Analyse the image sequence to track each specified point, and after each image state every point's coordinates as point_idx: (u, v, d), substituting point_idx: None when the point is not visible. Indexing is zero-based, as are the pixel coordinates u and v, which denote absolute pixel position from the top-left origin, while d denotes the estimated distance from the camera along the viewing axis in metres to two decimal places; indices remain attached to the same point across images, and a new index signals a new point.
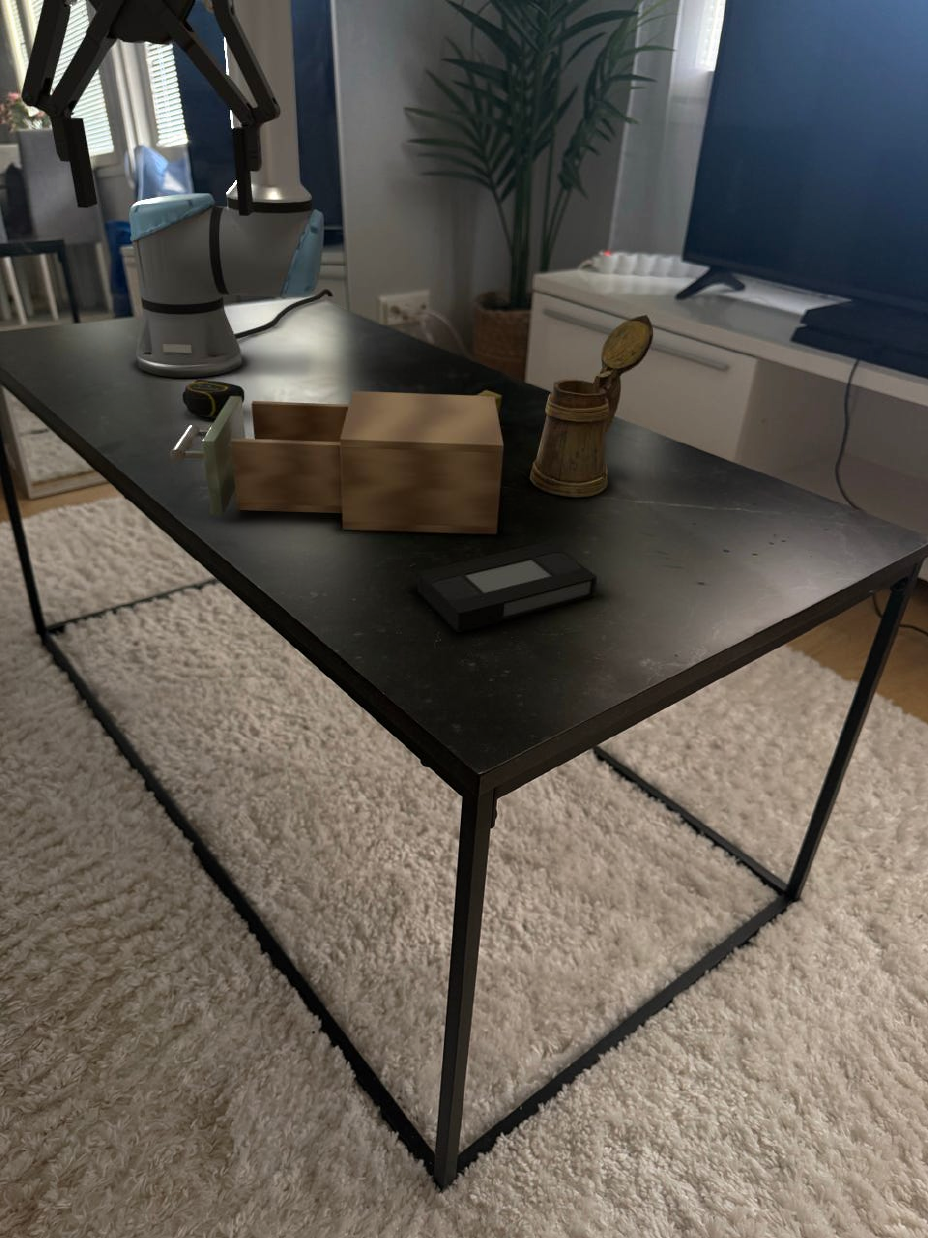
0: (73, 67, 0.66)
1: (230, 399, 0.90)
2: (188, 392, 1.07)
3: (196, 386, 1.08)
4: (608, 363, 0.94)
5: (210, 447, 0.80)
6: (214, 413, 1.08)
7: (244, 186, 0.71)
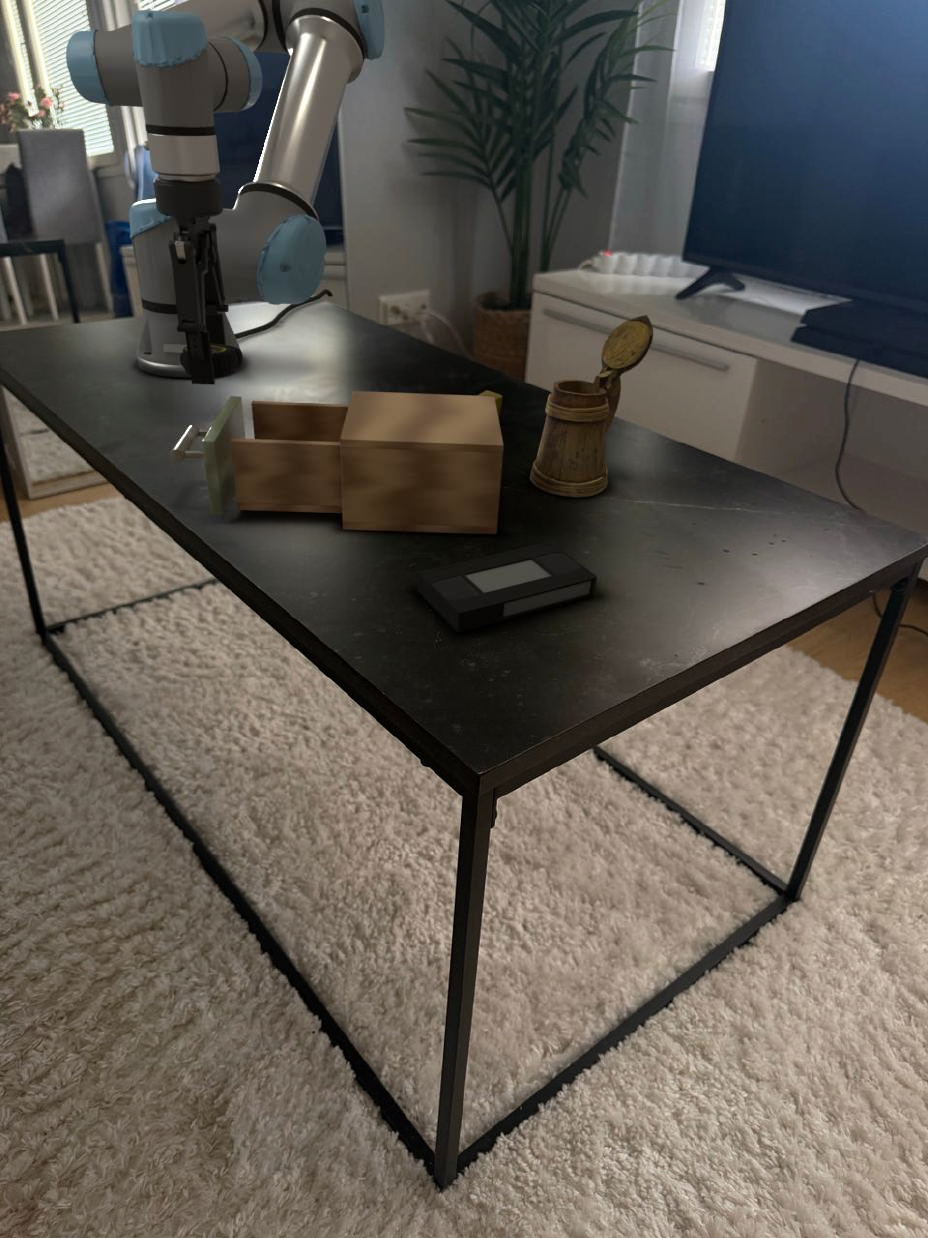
0: None
1: (230, 399, 0.90)
2: (186, 353, 1.05)
3: None
4: (608, 363, 0.94)
5: (210, 447, 0.80)
6: None
7: None
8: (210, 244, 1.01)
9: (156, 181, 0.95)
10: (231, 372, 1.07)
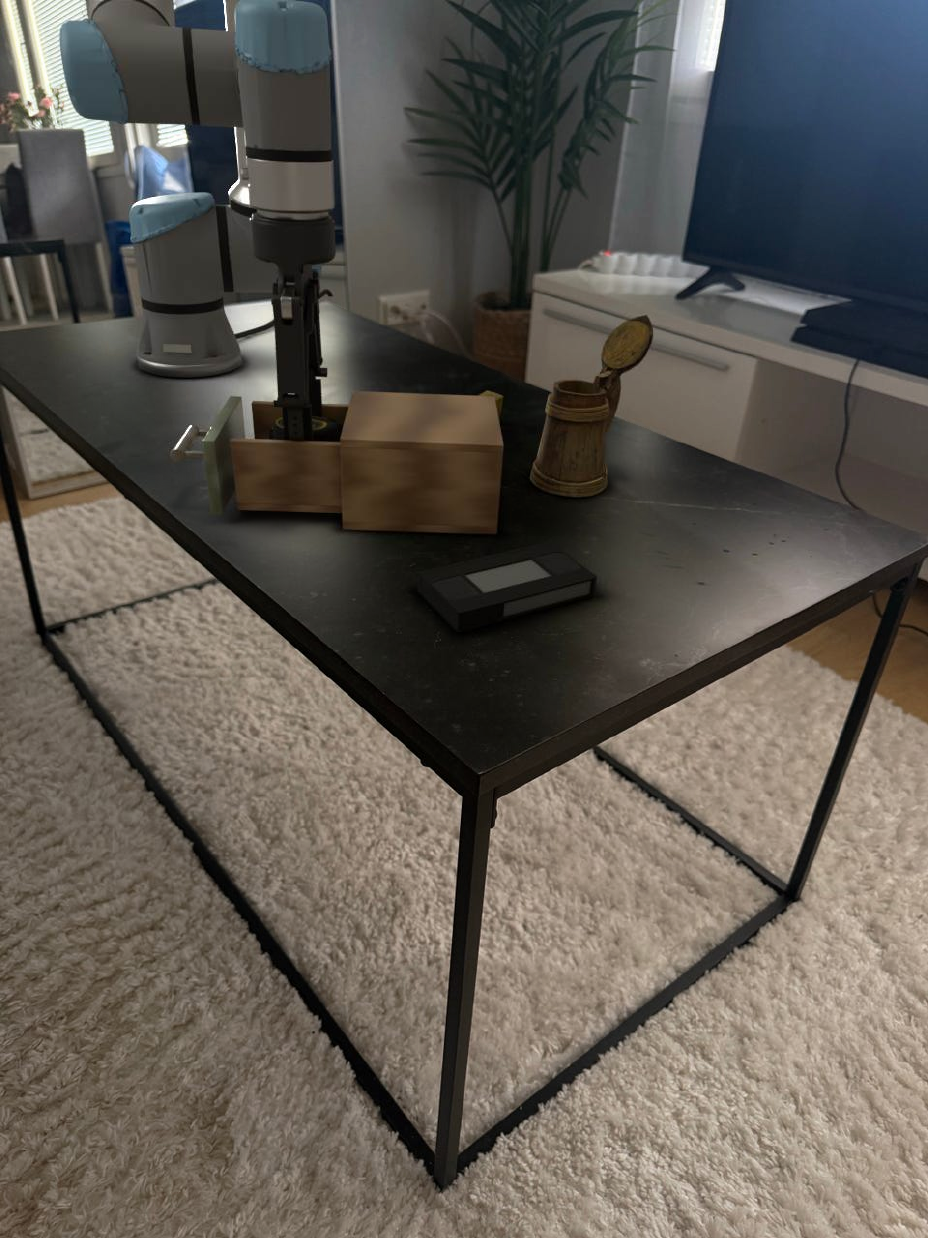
0: None
1: (230, 399, 0.90)
2: (278, 430, 0.84)
3: None
4: (608, 363, 0.94)
5: (210, 447, 0.80)
6: None
7: None
8: None
9: (256, 219, 0.74)
10: None
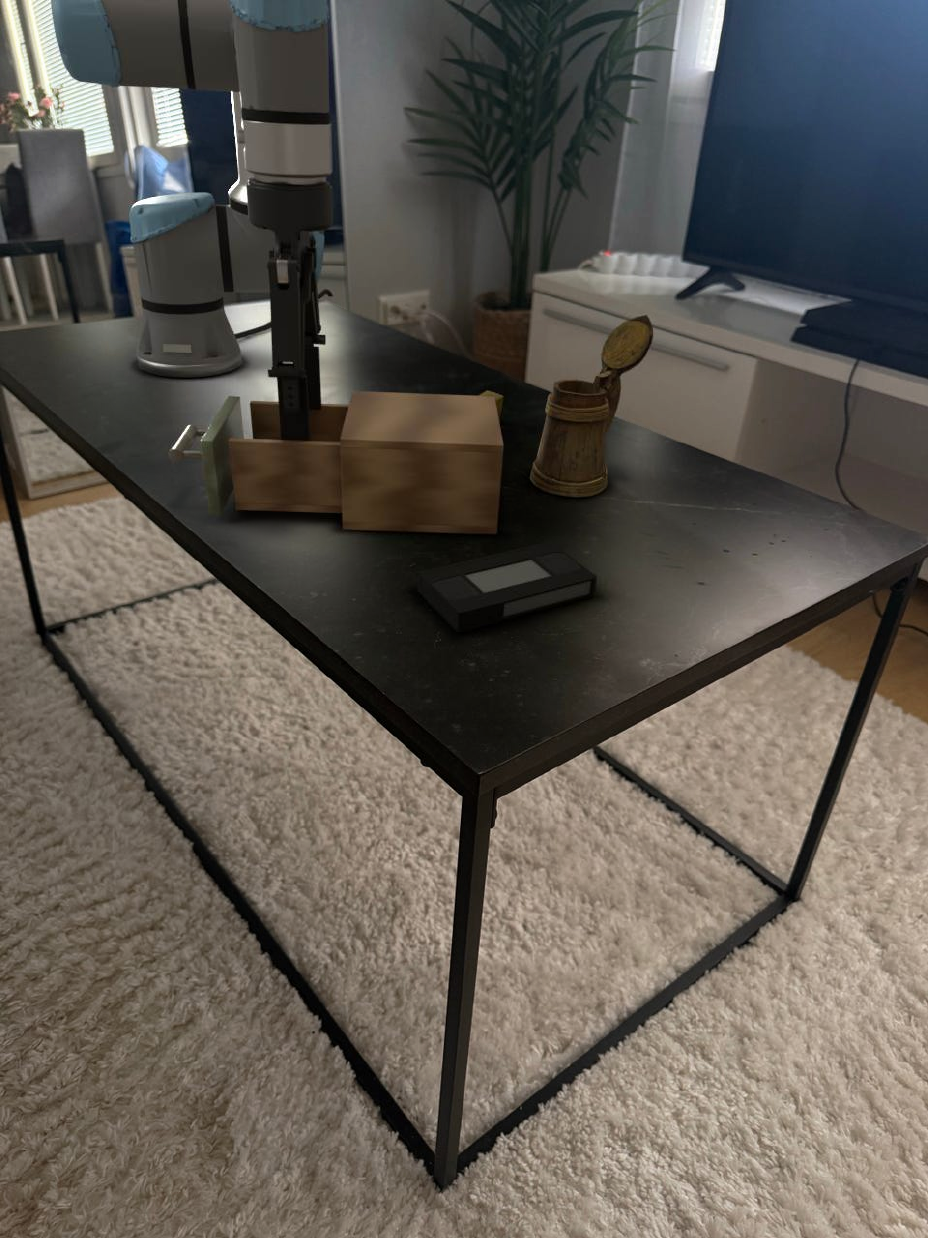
0: None
1: (228, 399, 0.90)
2: None
3: None
4: (608, 363, 0.94)
5: (208, 447, 0.80)
6: None
7: (280, 419, 0.80)
8: None
9: (252, 184, 0.72)
10: None
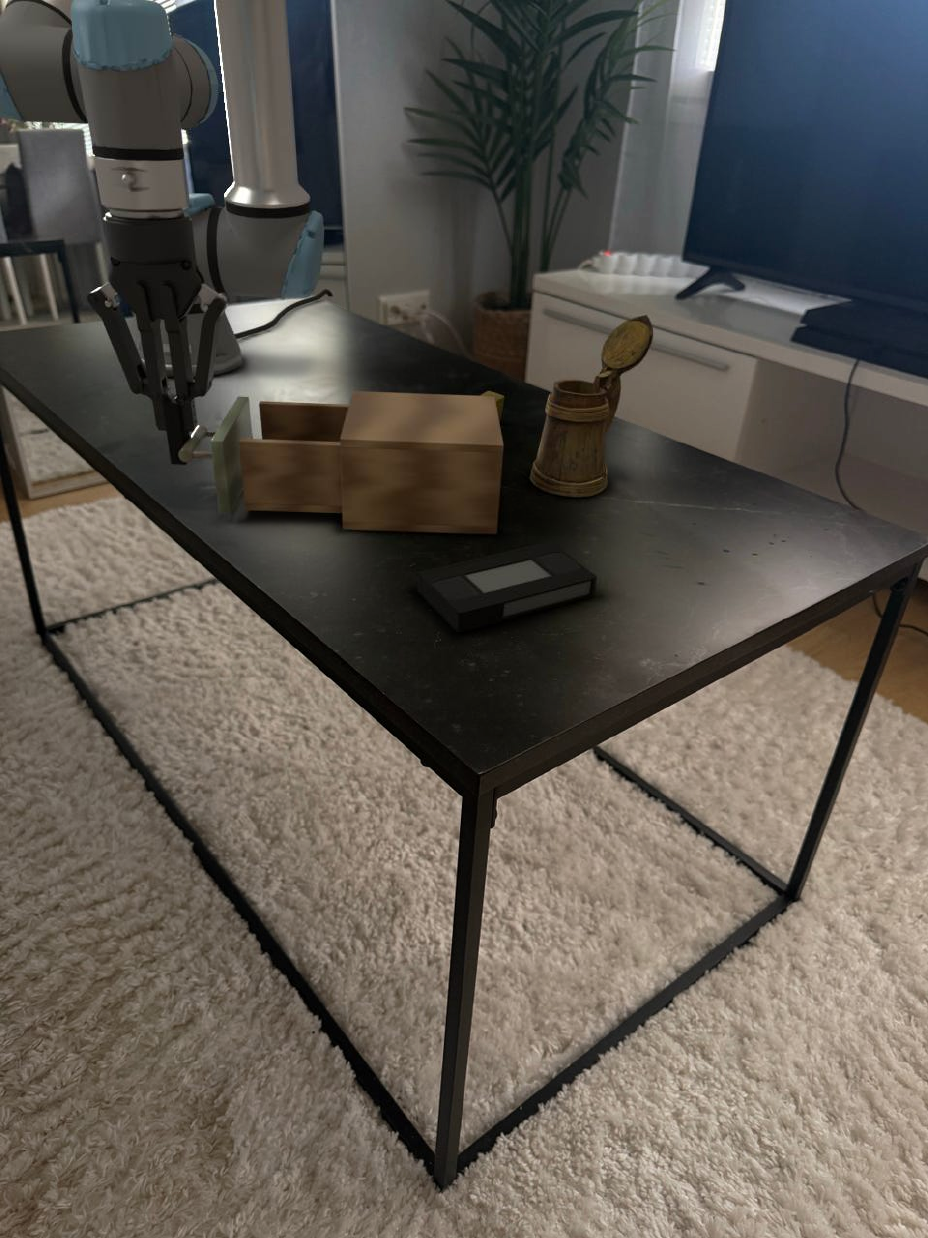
0: (148, 358, 0.81)
1: (238, 399, 0.90)
2: None
3: None
4: (608, 363, 0.94)
5: (219, 447, 0.80)
6: None
7: (182, 444, 0.85)
8: None
9: (161, 222, 0.73)
10: None
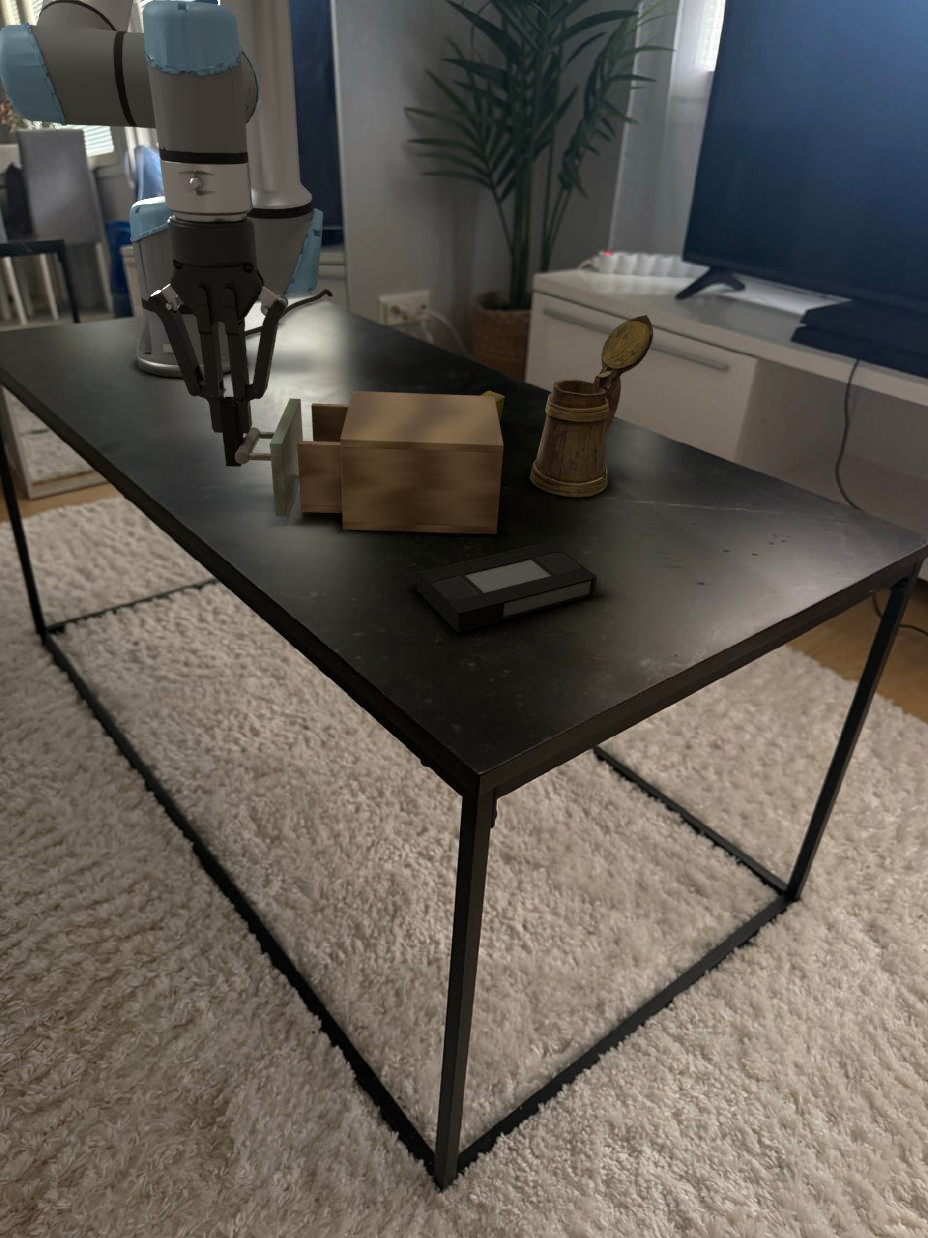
0: (206, 361, 0.81)
1: (290, 401, 0.90)
2: None
3: None
4: (608, 363, 0.94)
5: (278, 449, 0.80)
6: None
7: (237, 446, 0.86)
8: None
9: (226, 226, 0.73)
10: None
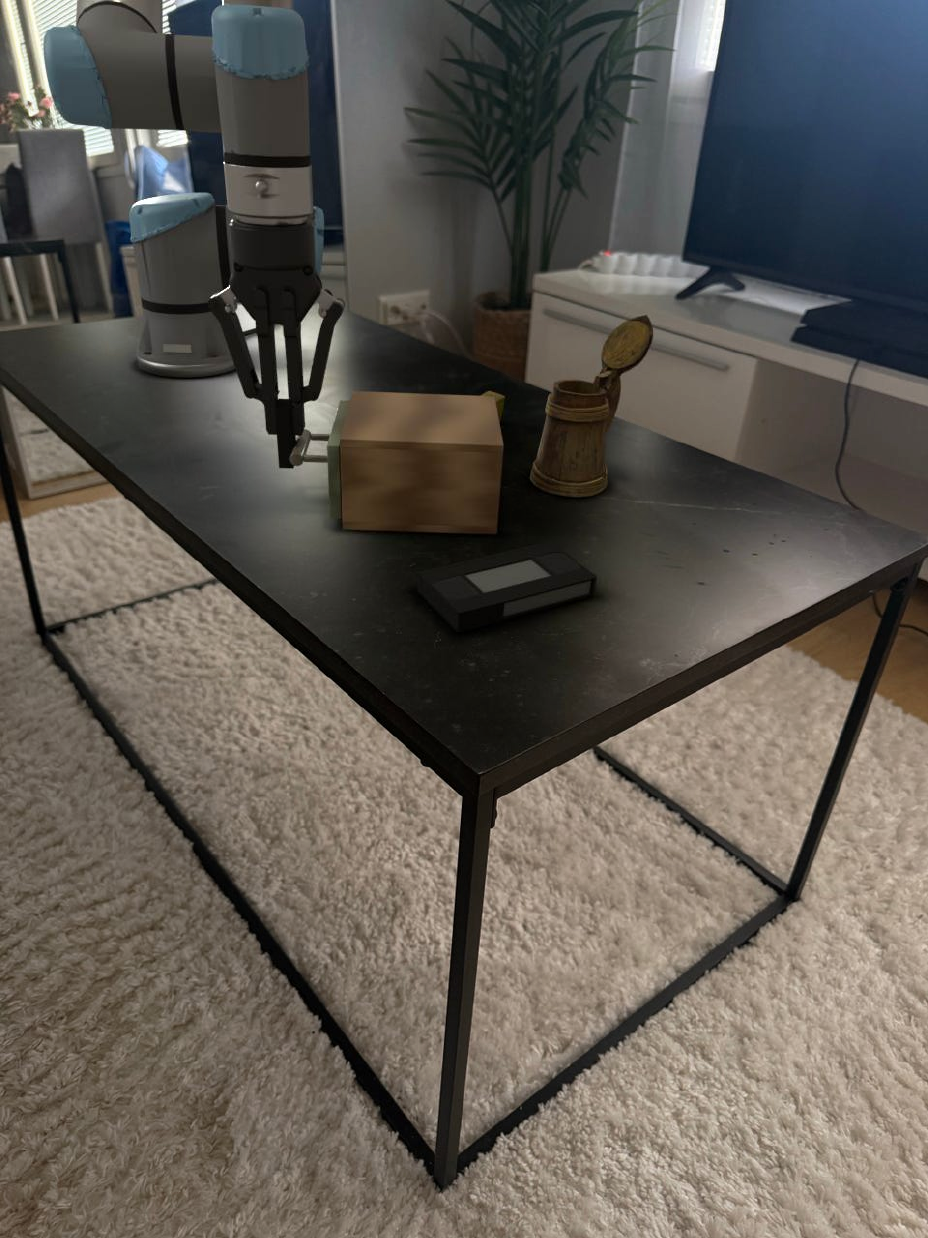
0: (263, 363, 0.81)
1: (341, 403, 0.90)
2: None
3: None
4: (608, 363, 0.94)
5: (335, 451, 0.81)
6: None
7: (291, 448, 0.86)
8: None
9: (289, 229, 0.73)
10: None
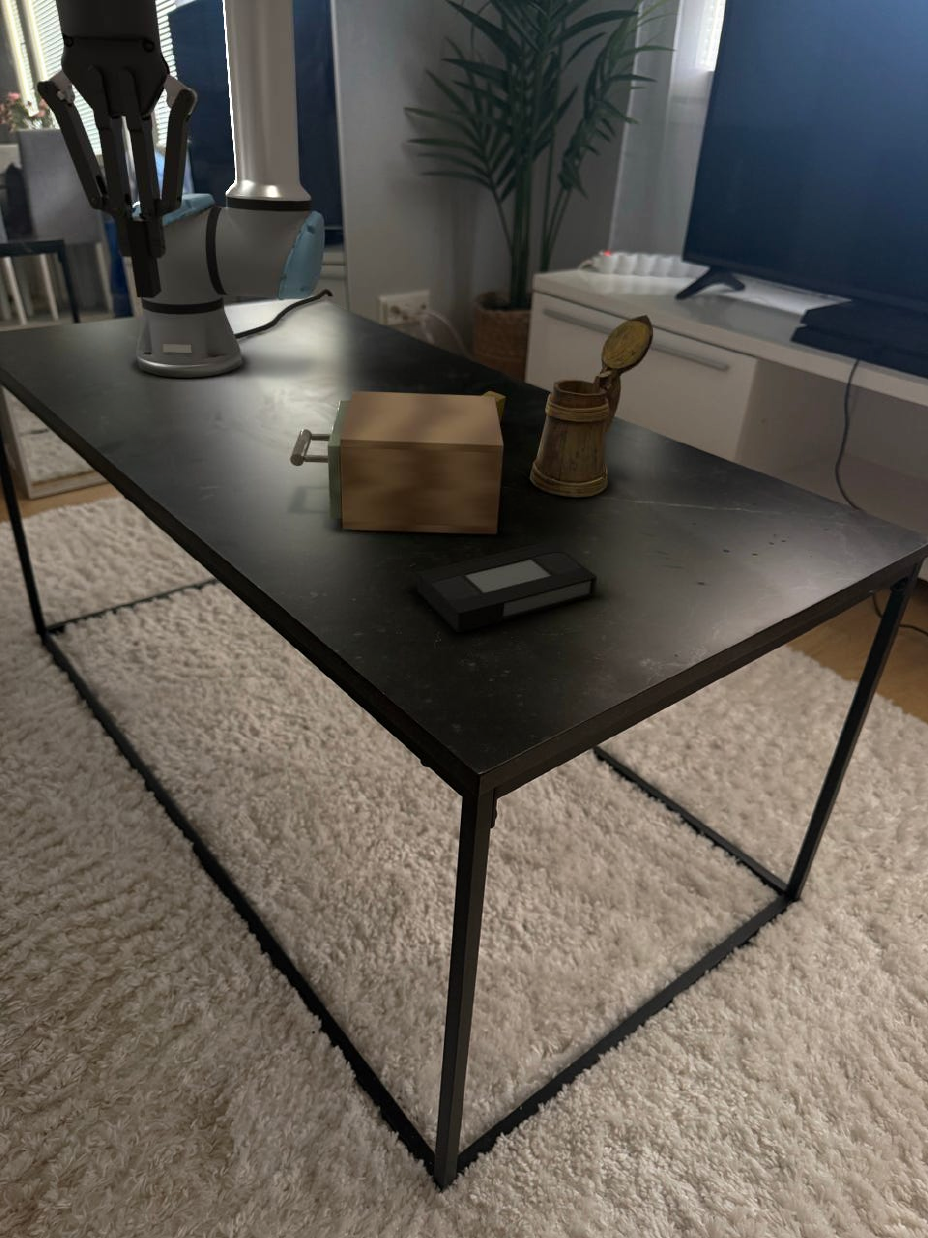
0: (108, 165, 0.72)
1: (341, 403, 0.90)
2: None
3: None
4: (608, 363, 0.94)
5: (335, 451, 0.81)
6: None
7: (148, 271, 0.76)
8: None
9: None
10: None
